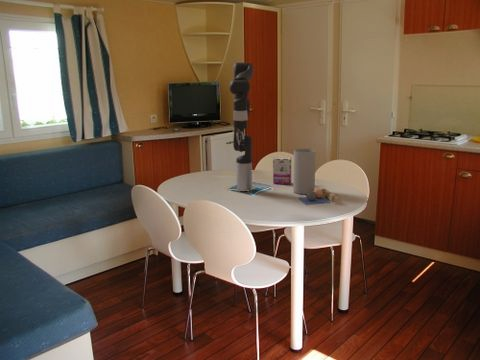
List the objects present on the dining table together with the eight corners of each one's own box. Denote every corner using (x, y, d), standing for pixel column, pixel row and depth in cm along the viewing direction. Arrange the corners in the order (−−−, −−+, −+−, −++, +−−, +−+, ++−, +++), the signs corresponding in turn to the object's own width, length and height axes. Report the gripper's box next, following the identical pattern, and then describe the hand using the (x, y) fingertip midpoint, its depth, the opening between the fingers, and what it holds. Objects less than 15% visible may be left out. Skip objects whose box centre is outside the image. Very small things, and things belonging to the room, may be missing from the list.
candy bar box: (291, 182, 293) (291, 157, 289) (290, 184, 289) (290, 159, 285) (274, 182, 296) (274, 157, 292) (273, 184, 291) (273, 158, 287)
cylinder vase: (317, 190, 274) (318, 149, 268) (309, 195, 263) (310, 153, 257) (298, 188, 280) (298, 148, 274) (289, 193, 270) (290, 151, 264)
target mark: (297, 197, 260) (297, 197, 260) (320, 196, 263) (320, 195, 263) (306, 204, 246) (306, 204, 246) (330, 202, 249) (330, 202, 249)
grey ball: (309, 200, 257) (302, 195, 255) (315, 192, 256) (309, 187, 254) (313, 204, 252) (306, 199, 250) (320, 196, 251) (313, 191, 249)
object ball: (314, 200, 260) (309, 192, 259) (322, 195, 261) (317, 186, 261) (318, 200, 254) (313, 192, 254) (326, 194, 255) (321, 186, 255)
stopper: (320, 194, 266) (321, 188, 265) (324, 194, 266) (324, 188, 265) (335, 204, 247) (335, 197, 246) (338, 203, 247) (338, 197, 246)
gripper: (230, 118, 246) (231, 149, 250) (236, 120, 234) (236, 154, 238) (244, 117, 248) (244, 149, 252) (250, 120, 235) (250, 153, 239)
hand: (241, 151), depth 245 cm, fingers closed
